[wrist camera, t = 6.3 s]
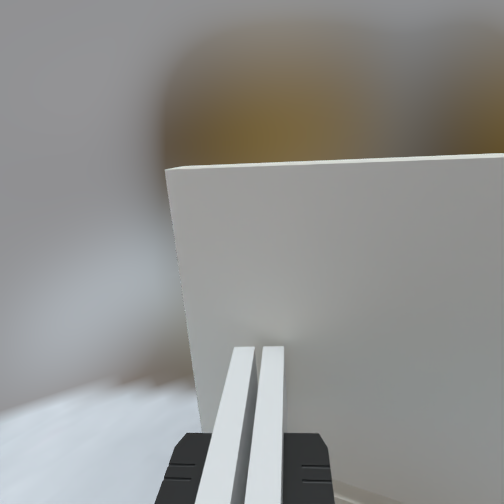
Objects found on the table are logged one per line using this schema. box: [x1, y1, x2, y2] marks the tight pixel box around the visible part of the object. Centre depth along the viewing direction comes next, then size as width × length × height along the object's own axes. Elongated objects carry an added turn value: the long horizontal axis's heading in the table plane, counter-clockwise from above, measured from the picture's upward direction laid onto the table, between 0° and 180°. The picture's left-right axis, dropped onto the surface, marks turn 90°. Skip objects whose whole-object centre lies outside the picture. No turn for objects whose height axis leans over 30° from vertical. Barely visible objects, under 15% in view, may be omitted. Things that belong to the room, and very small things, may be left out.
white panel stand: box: [165, 153, 504, 504], centre depth 12 cm, size 16×3×14 cm, turn 64°
